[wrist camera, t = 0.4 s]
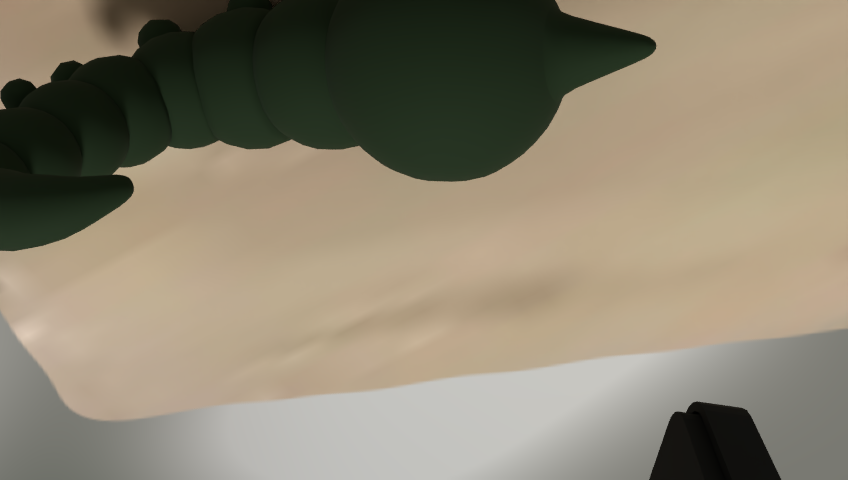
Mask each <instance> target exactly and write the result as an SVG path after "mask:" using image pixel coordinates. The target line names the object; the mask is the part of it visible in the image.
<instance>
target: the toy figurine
mask: <svg viewBox="0 0 848 480" xmlns="http://www.w3.org/2000/svg"><path fill="white" fill-rule="evenodd" d="M138 45H139V47H140V48H138V49H137V50H136V52H135V53H134V55H133V56H132V57H127V56H122V55H116V56H109V57H102V58H97V59H94V60H91V61H89V62H88V63H86V64H84V65H82V64H80V63H78V62H76V61H74V60H73V61H69V62H64V63H60V65H59V66H58V67H57V68H56V70H55V71H54V73H53V74H52V76H51V82H50V83H47V84H45V85H42V86H40V87H39V88H36V87H35V86H34V85H33V84H32V83H31V82H29V81H26V80H23V79H16V80H13V81H9V82H8V83H7V84H6V85H5V86H4V87H3V89H2V90H1V101H2V102H3V104H4V106H5V107H6V109H1V110H0V251H17V250H22V249H28V248H33V247H38V246H43V245H46V244H50V243H53V242H56V241H59V240H62V239H65V238H67V237H69V236H71V235H73V234H75V233H77V232H79V231H81V230H83V229H85V228H86V227H88V226H90V225H91V224H93V223H95V222H96V221H98V220H99V219H101V218H102V217H104V216H106V215H107V214H109V213H110V212H112V211H113V210H115V209H116V208H118V207H120V206H121V205H122V204H123V203H124V202H126V201H127V200H128V199H129V198H130V197H131V196H132V194H133V192H134V187H133V183H132V181H131V180H130V179H129V178H128V177H126V176H123V175H112V174H113V173H114V172H115V171H116V170H117V169H118V168H119V167H132V166H136V165H140V164H144V163H146V162H147V161H149V160H151V159H152V158H154V157H155V156H157V155H158V154H160V153H161V152H163V151H164V150H165V149H166V148H167V146H170V147H174V148H183V149H193V148H199V147H205V146H207V145H210V144H212V143H215V142H216V141H218V140H220V141H222V142H224V143H226V144H229V145H233V146H237V147H241V148H245V149H265V148H271V147H273V146H276V145H279V144H281V143H284V142H286V141H289V140H291V139H292V140H294V141H296V142H298V143H300V144H302V145H305V146H309V147H312V148H316V149H346V148H351V147H355V146H360V147H361V148H362V149H363V150H365V151H366V152H367V153H368V154H369V155H371V156H372V157H373V158H375V159H376V160H377V161H379V162H380V163H381V164H383V165H384V166H386V167H388V168H390V169H392V170H394V171H397V172H399V173H402V174H405V175H407V176H410V177H413V178H416V179H421V180H427V181H450V182H453V181H467V180H471V179H476V178H481V177H485V176H487V175H490V174H492V173H494V172H496V171H498V170H500V169H502V168H503V167H505V166H507V165H508V164H510V163H512V162H513V161H514V160H516V159H517V158H518V157H520V156H521V155H522V154H524V153H525V152H526V151H527V150H528V149H529V148H530V147H531V146H532V145H533V144H534V143H535V142H536V141H537V140H538V139H539V137H540V136H541V135H542V134H543V133H544V131H545V130H546V129H547V128H548V126H549V124H550V123H551V121H552V119H553V117H554V116H555V114H556V112H557V110H558V108H559V106H560V103H561V101H562V98H563V97H564V95H565V94H567V93H569V92H570V91H572V90H574V89H575V88H577V87H580V86H582V85H584V84H587V83H589V82H591V81H594V80H596V79H598V78H601V77H603V76H605V75H608V74H610V73H612V72H615V71H617V70H620V69H622V68H624V67H627V66H629V65H631V64H634V63H636V62H638V61H640V60H643V59H645V58H646V57H648V56H650V55H651V54H652V53H653V52H654V51H655V49H656V43H655V41H654V40H653V39H651V38H650V37H647V36H645V35H642V34H638V33H635V32H631V31H627V30H623V29H619V28H616V27H612V26H608V25H604V24H600V23H596V22H593V21H589V20H585V19H581V18H578V17H574V16H571V15H568V14H566V13H563V12H561V11H560V9H559V7H558V5H557V3H556V1H555V0H282V1H281V2H280V3H278V4H277V5H276V6H275V7H274V8H273V9H272V3H271V2H270V1H269V0H229V4H228V8H227V12H224V13H221V14H217V15H216V16H214V17H213V18H211V19H210V20H208V21H207V22H205V23H204V24H202V25H201V26H200V27H199V29H198V30H197V31H196V32H182V31H181V30H180V28H179V26H178V25H177V24H175V23H174V22H172V21H170V20H150V21H149V22H148V23H147V24H145V25H144V26H143V27H142V29H141V30H140V32H139V36H138Z"/></svg>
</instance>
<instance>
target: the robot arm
mask: <svg viewBox="0 0 848 480" xmlns="http://www.w3.org/2000/svg"><path fill="white" fill-rule="evenodd" d="M649 480H781V478H780V476H779V474H778V472H777V470H776V468H775V466H774V464H773V462H772V460H771V457H770V455H769V453H768V451H767V449H766V447H765V445H764V443H763V440H762V438H761V436H760V434H759V432H758V430H757V428H756V426H755V424H754V422H753V419H752V418H751V416H750V414H749V413H748V411H747V410H745V409H743V408H739V407H732V406H725V405H717V404H711V403H703V402H693V403H692V404H691V405H690V406H689V408H688V410H687V412H686V413H683V412H675V413H674V414H673V415H672V417H671V419H670V421H669V424H668V426H667V429H666V432H665V435H664V438H663V441H662V444H661V447H660V450H659V453H658V456H657V458H656V461H655V465H654V467H653V470H652V473H651V476H650V479H649Z"/></svg>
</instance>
